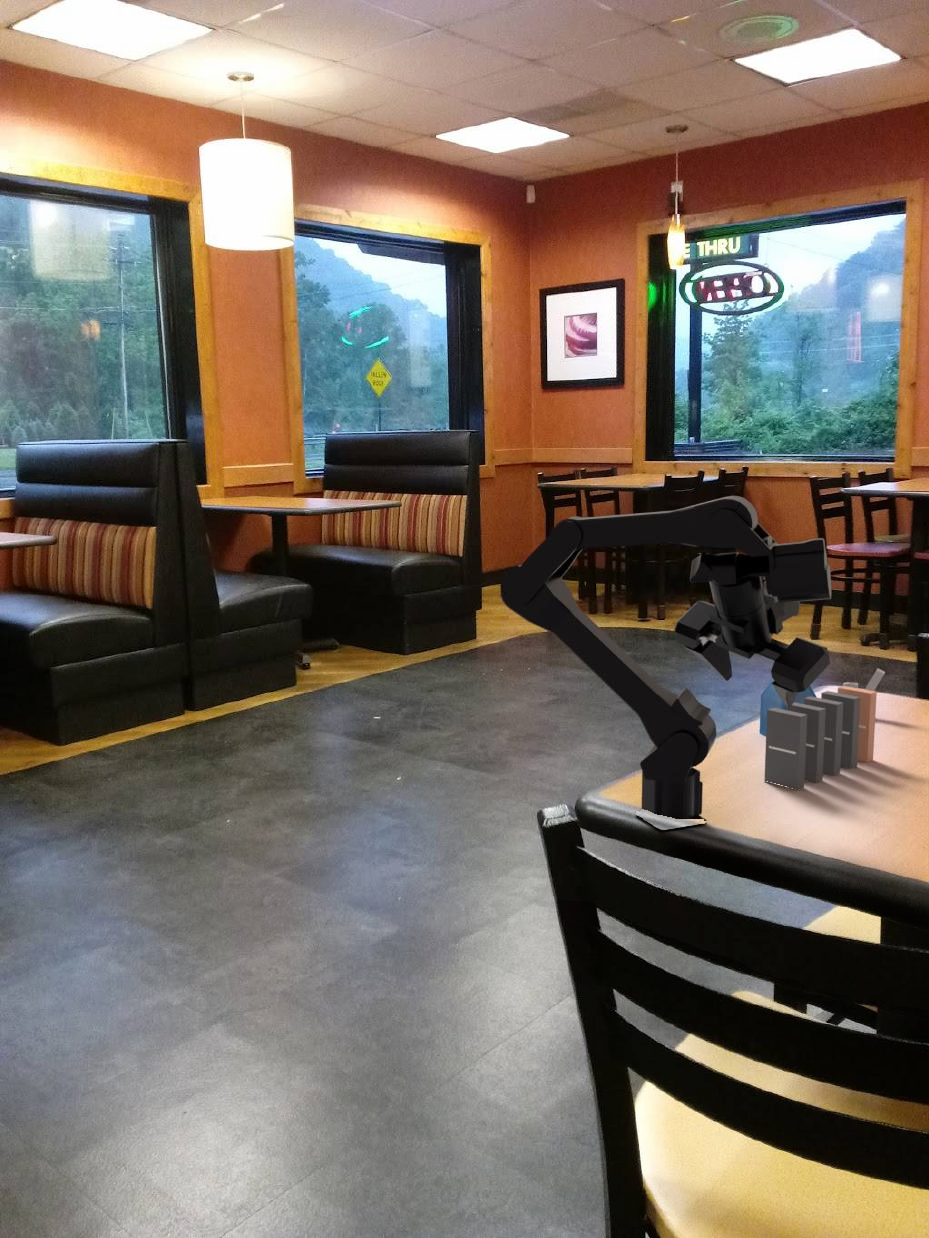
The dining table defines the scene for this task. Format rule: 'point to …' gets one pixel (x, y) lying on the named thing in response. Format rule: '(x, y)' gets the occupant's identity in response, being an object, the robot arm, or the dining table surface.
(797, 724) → the domino
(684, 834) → the dining table surface
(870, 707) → the domino
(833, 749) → the domino
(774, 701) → the perfume bottle
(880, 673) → the lighter
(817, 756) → the domino
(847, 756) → the domino
